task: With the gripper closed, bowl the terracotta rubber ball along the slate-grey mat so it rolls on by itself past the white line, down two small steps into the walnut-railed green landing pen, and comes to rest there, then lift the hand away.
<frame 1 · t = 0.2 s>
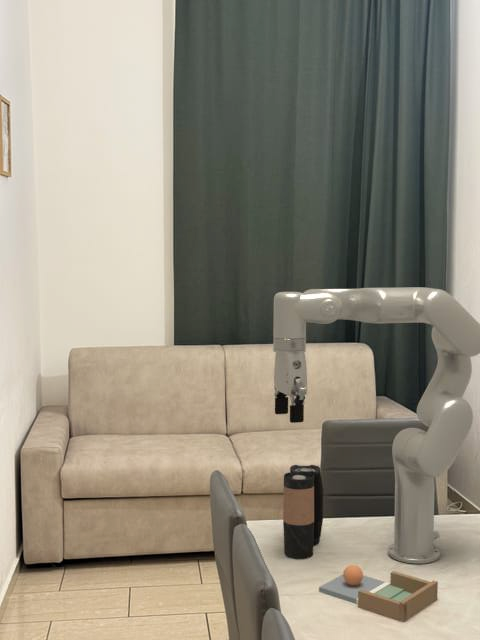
hand: (288, 417, 199), 36 cm above the table, tool pointing down, fingers open, 9 cm apart
travel mug: (298, 554, 212), on the table
lane: (376, 596, 187), on the table
portable speaker: (304, 542, 220), on the table
ball: (353, 575, 190), point 3 cm above the table, touching lane
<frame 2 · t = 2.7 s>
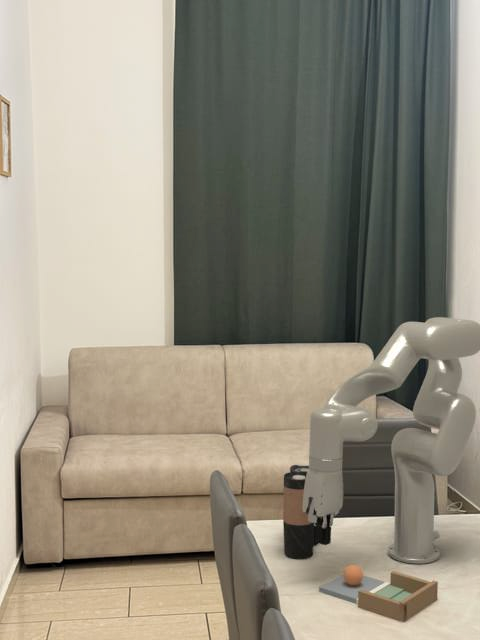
hand: (322, 543, 194), 9 cm above the table, tool pointing down, fingers closed
nothing on the table moved.
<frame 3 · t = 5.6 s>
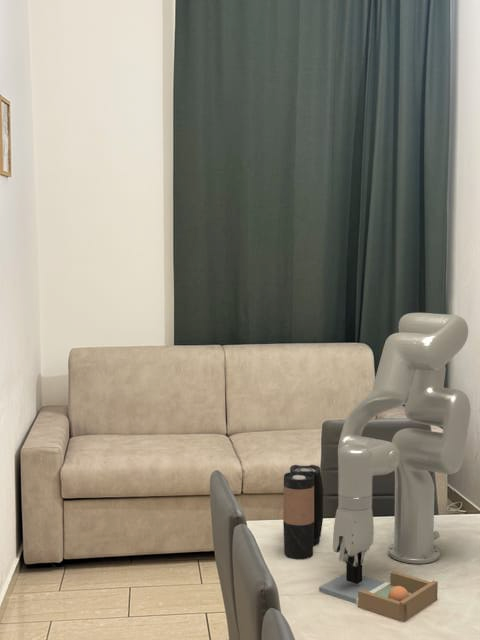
hand: (354, 581, 190), 2 cm above the table, tool pointing down, fingers closed
ball: (398, 596, 180), point 2 cm above the table, tilted 15°, touching lane
everything else where it was.
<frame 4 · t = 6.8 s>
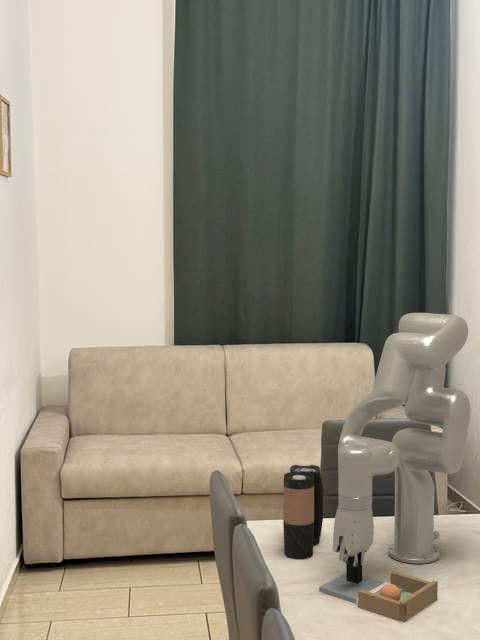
hand: (354, 581, 190), 2 cm above the table, tool pointing down, fingers closed
ball: (390, 594, 182), point 2 cm above the table, tilted 65°, touching lane
everything else where it was.
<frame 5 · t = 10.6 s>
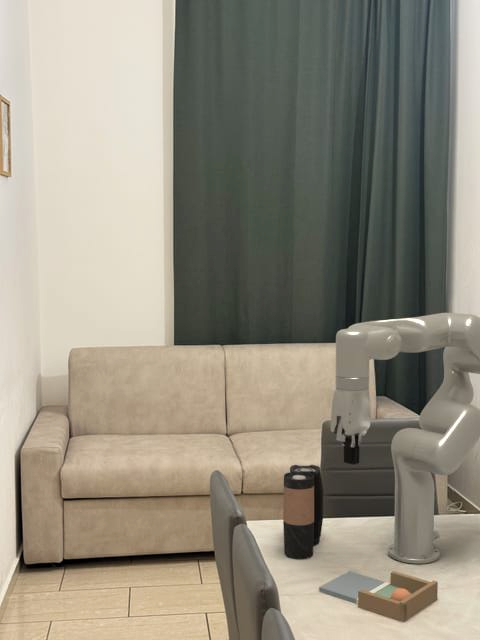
hand: (351, 462, 194), 27 cm above the table, tool pointing down, fingers closed
ball: (401, 599, 179), point 2 cm above the table, tilted 19°, touching lane
everything else where it was.
at the end: ball inside the target area on the lane (3.3 cm from its centre), point 2.4 cm above the lane's base; ball moved 14.0 cm from its start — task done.
